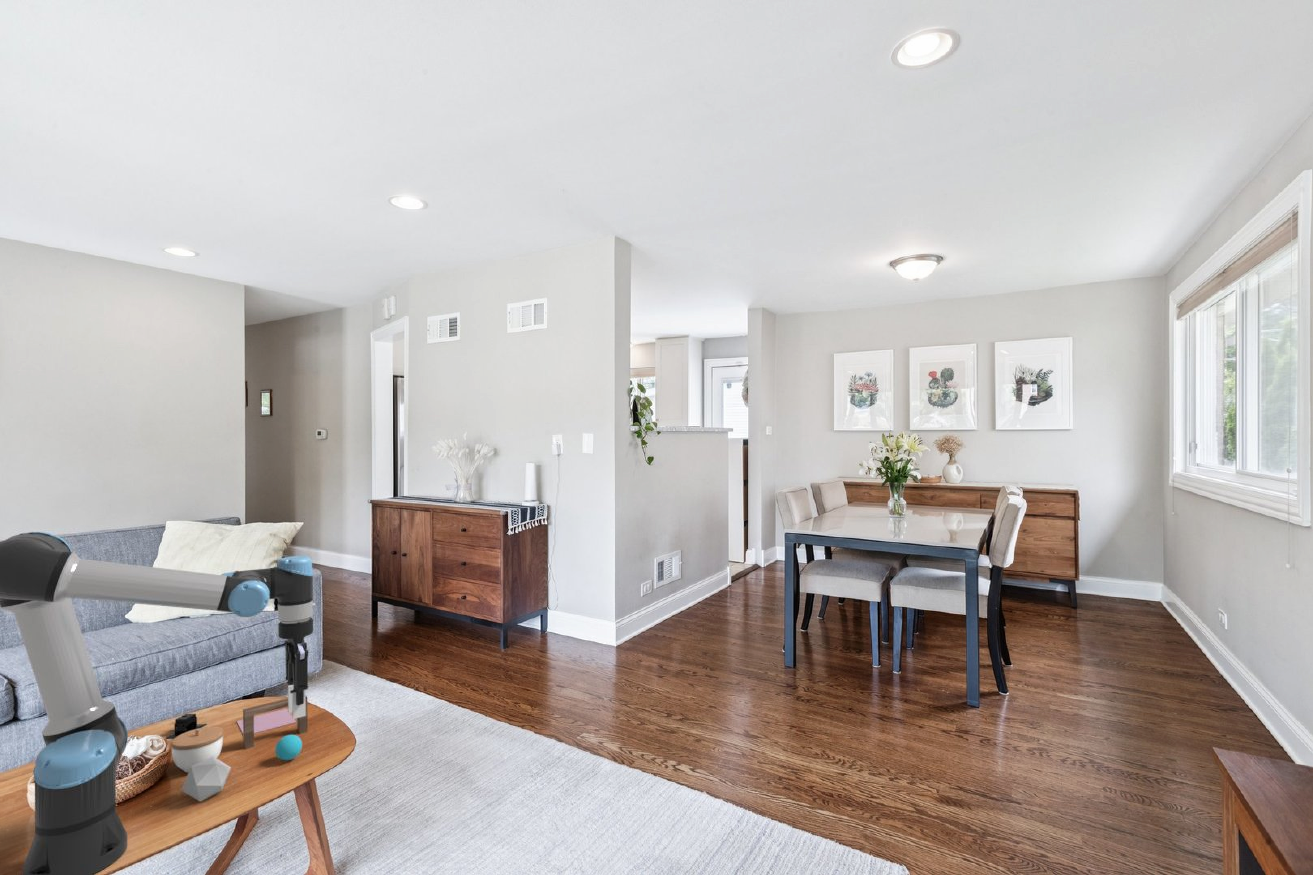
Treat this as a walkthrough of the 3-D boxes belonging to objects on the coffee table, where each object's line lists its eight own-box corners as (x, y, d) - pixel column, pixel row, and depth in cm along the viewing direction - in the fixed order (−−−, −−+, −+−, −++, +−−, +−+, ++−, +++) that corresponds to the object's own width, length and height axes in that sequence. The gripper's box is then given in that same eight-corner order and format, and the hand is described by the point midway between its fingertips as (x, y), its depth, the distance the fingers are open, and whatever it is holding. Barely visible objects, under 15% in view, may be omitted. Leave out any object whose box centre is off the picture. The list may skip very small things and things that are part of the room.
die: (230, 799, 146) (241, 754, 151) (193, 796, 139) (206, 749, 145) (207, 806, 148) (218, 761, 154) (169, 804, 142) (182, 757, 147)
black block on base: (191, 723, 187) (191, 706, 187) (216, 723, 187) (216, 706, 187) (153, 744, 174) (153, 726, 174) (180, 744, 173) (180, 726, 173)
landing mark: (244, 736, 176) (244, 735, 176) (236, 721, 186) (236, 720, 186) (296, 722, 185) (296, 721, 185) (286, 708, 195) (286, 708, 195)
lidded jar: (172, 782, 152) (172, 743, 153) (170, 765, 161) (170, 728, 161) (225, 767, 159) (225, 730, 159) (221, 751, 168) (221, 716, 168)
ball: (278, 767, 159) (277, 743, 159) (273, 758, 163) (273, 735, 163) (304, 759, 163) (304, 735, 163) (299, 750, 167) (299, 728, 167)
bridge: (307, 731, 179) (307, 697, 179) (245, 748, 169) (244, 712, 169) (305, 727, 181) (304, 694, 181) (243, 744, 171) (243, 709, 171)
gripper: (321, 623, 152) (322, 720, 152) (304, 610, 165) (305, 699, 165) (286, 629, 147) (287, 729, 147) (271, 615, 160) (272, 707, 160)
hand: (296, 713), depth 156 cm, fingers open, 4 cm apart
